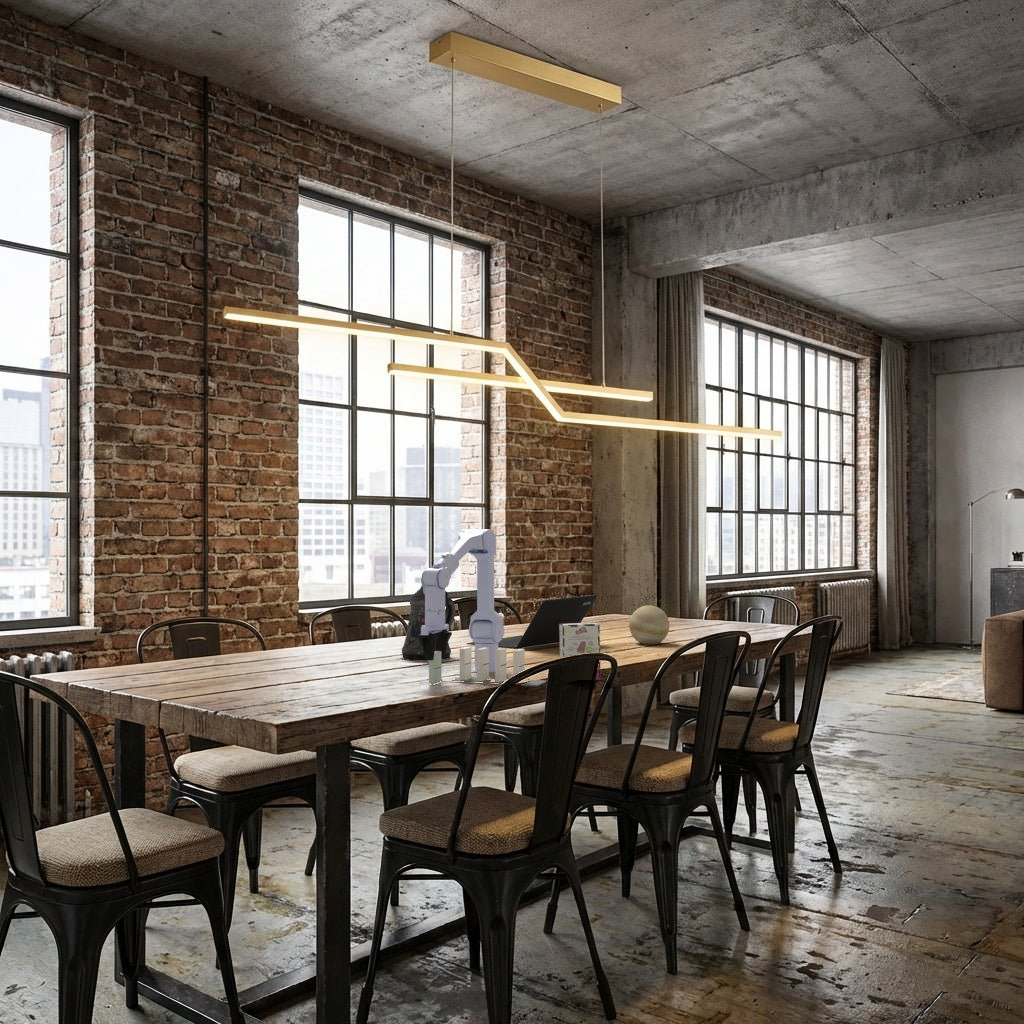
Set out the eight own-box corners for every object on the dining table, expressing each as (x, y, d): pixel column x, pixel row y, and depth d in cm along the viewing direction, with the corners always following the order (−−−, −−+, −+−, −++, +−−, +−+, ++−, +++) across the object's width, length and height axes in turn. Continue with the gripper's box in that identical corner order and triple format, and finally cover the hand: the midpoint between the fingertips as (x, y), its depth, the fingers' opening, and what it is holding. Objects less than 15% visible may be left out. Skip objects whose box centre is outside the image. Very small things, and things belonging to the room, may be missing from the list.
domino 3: (495, 681, 293) (495, 650, 294) (501, 679, 298) (501, 648, 298) (500, 682, 293) (500, 650, 293) (506, 679, 298) (506, 648, 298)
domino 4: (513, 682, 291) (513, 650, 292) (519, 680, 296) (519, 648, 296) (518, 683, 291) (518, 650, 291) (524, 680, 296) (524, 649, 296)
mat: (419, 680, 299) (419, 678, 299) (432, 676, 308) (432, 674, 308) (537, 686, 287) (537, 685, 287) (547, 682, 295) (547, 680, 295)
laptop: (520, 639, 413) (520, 591, 413) (598, 646, 389) (598, 594, 389) (464, 647, 387) (464, 595, 388) (544, 654, 363) (543, 599, 364)
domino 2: (477, 680, 295) (477, 649, 296) (483, 678, 300) (483, 647, 300) (482, 681, 295) (482, 649, 295) (489, 678, 299) (488, 647, 300)
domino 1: (459, 679, 297) (459, 648, 297) (466, 677, 302) (466, 646, 302) (464, 680, 297) (464, 648, 297) (471, 677, 301) (471, 646, 302)
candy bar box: (596, 678, 303) (595, 622, 303) (600, 680, 298) (600, 623, 298) (559, 679, 301) (558, 623, 301) (563, 681, 296) (563, 624, 296)
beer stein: (393, 662, 342) (393, 586, 342) (416, 655, 360) (416, 583, 361) (440, 663, 337) (440, 587, 337) (460, 656, 356) (460, 584, 356)
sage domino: (428, 684, 291) (428, 652, 291) (436, 682, 295) (436, 650, 296) (434, 685, 290) (434, 653, 290) (441, 682, 295) (441, 651, 295)
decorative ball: (648, 642, 400) (647, 603, 400) (677, 645, 388) (677, 605, 388) (621, 645, 390) (620, 605, 390) (650, 648, 378) (650, 607, 379)
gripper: (433, 608, 301) (433, 655, 301) (411, 611, 288) (411, 660, 288) (455, 609, 299) (455, 656, 299) (434, 612, 285) (434, 661, 285)
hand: (435, 658), depth 293 cm, fingers open, 7 cm apart
